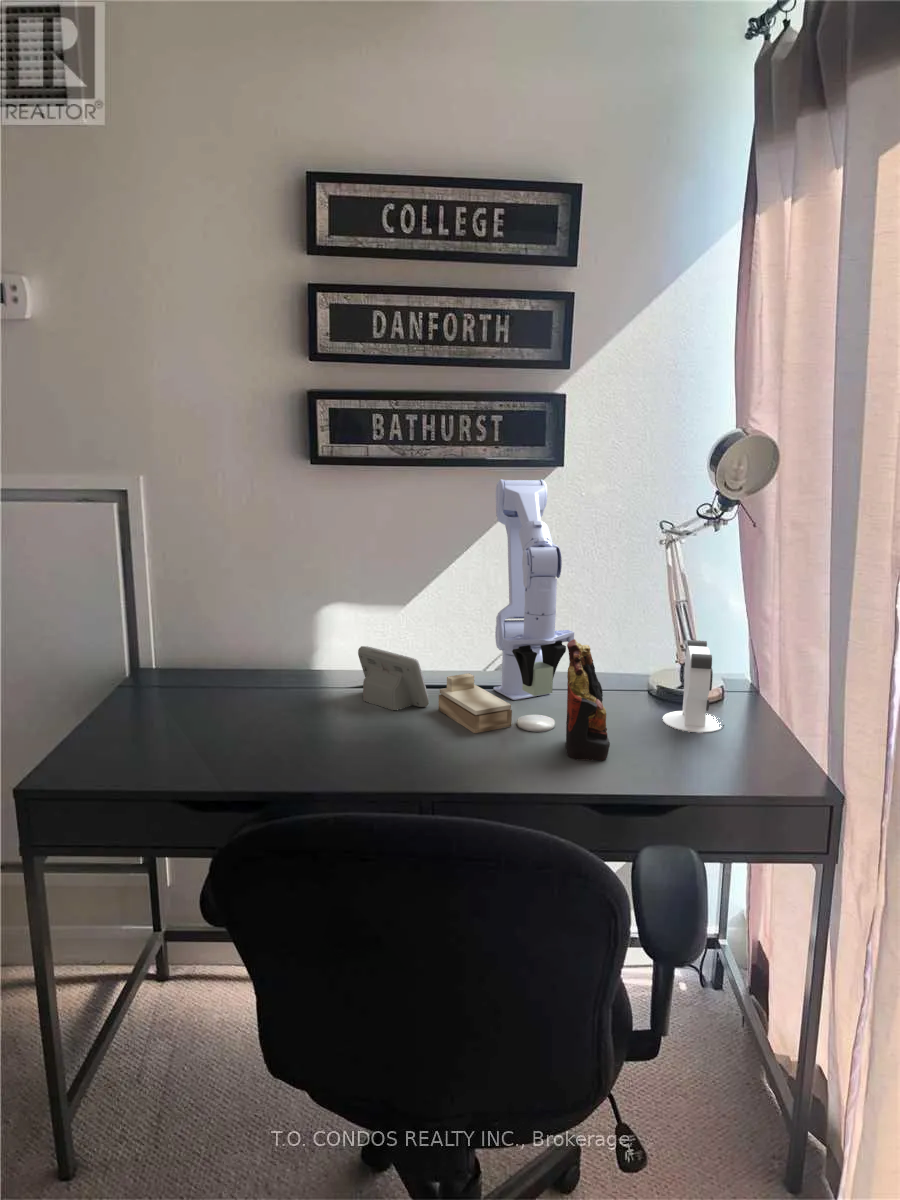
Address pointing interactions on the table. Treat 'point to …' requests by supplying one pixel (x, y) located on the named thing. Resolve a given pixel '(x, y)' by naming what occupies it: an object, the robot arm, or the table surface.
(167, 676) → the table surface
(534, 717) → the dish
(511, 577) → the robot arm
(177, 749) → the table surface
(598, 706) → the statue
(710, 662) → the white post on disc
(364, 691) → the digital clock
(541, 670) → the green block
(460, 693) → the lid
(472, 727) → the pencil box
